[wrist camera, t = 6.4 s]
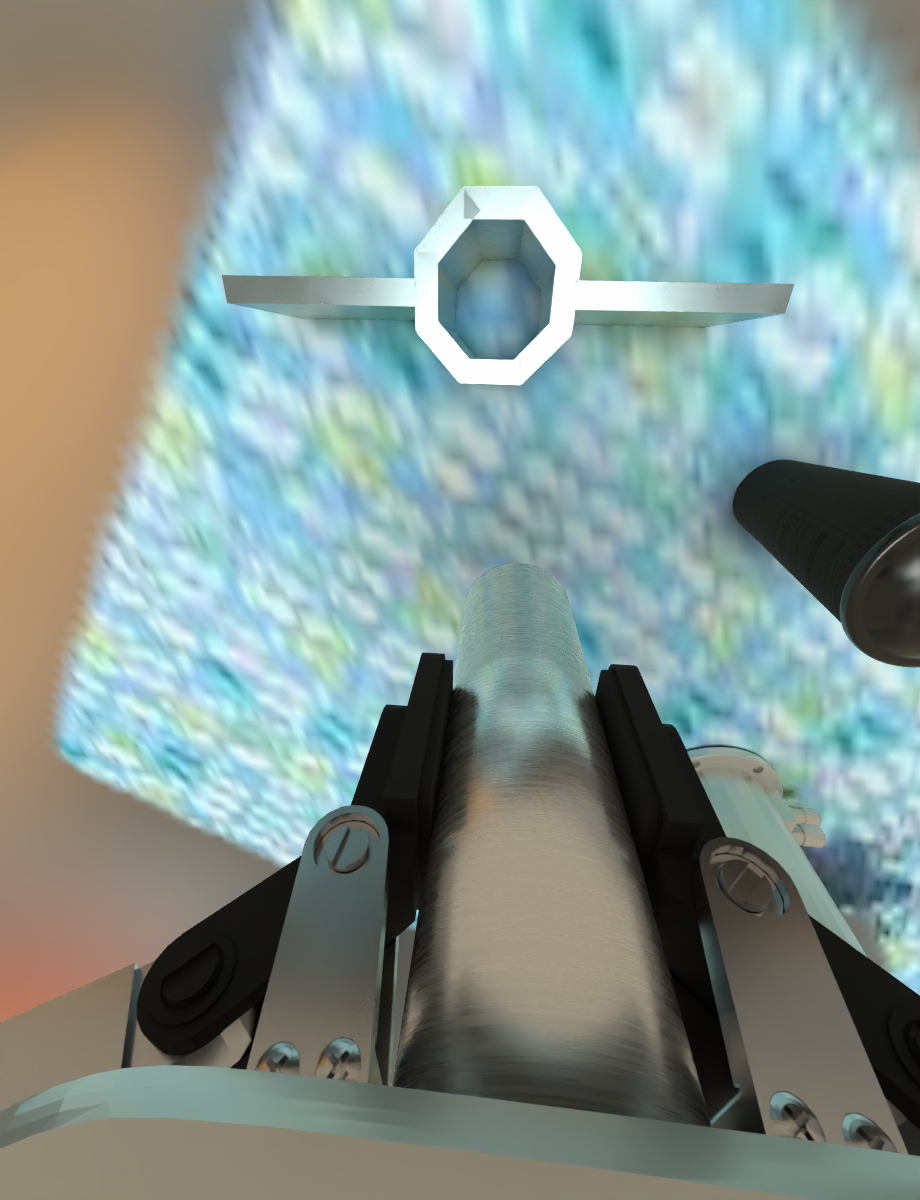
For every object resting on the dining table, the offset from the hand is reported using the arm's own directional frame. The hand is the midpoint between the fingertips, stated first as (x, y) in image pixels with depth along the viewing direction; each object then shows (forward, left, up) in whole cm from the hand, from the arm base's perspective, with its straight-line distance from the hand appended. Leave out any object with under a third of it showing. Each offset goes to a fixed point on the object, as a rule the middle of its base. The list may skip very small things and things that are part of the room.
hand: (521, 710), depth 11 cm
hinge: (+2, -10, -23) cm, 25 cm away
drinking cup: (-17, 0, -23) cm, 29 cm away
